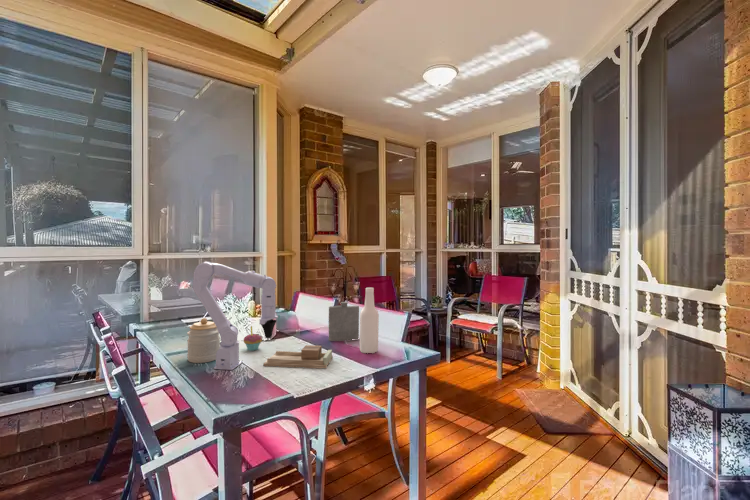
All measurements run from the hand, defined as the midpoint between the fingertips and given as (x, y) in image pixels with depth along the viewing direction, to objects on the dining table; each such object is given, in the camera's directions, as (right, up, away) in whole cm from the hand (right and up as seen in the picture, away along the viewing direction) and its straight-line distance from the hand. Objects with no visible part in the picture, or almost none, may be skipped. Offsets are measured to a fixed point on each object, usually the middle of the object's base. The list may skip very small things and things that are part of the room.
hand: (268, 337), depth 156 cm
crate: (+18, -9, +1) cm, 21 cm away
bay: (+13, -11, +1) cm, 17 cm away
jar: (-29, -10, +4) cm, 31 cm away
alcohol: (+42, -11, +18) cm, 47 cm away
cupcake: (-13, -10, +18) cm, 24 cm away
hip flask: (+29, -10, +37) cm, 48 cm away
